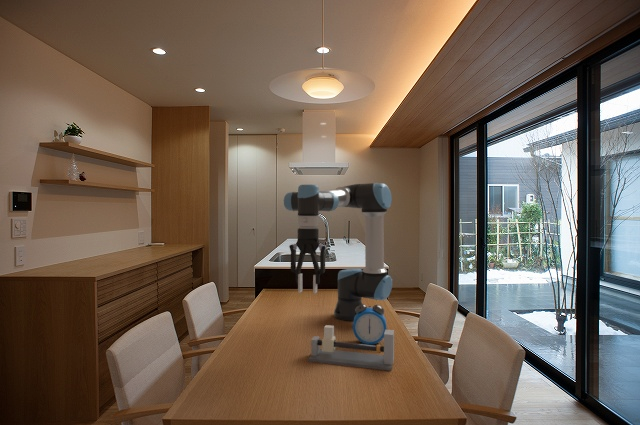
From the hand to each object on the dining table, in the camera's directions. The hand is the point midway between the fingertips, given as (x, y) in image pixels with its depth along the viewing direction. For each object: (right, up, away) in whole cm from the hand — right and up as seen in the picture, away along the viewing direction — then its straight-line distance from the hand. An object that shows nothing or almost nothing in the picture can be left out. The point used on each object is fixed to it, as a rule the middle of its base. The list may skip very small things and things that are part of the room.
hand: (307, 292), depth 134 cm
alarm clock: (+24, -23, +14) cm, 36 cm away
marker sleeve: (+8, -20, -2) cm, 21 cm away
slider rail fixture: (+15, -23, -4) cm, 28 cm away
